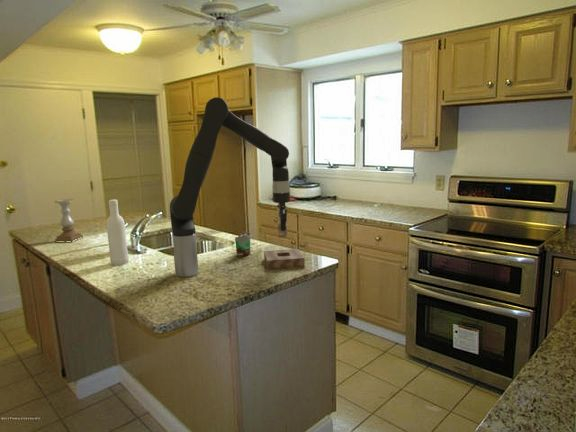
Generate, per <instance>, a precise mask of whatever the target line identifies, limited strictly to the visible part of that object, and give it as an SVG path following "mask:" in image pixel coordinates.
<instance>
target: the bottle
mask: <svg viewBox="0 0 576 432" xmlns="http://www.w3.org/2000/svg"><path fill="white" fill-rule="evenodd" d="M118 204H119V201H118V199H110V200H108V205H109V206H108V207H109V213H110V214H109V216H108V218H107V219H106V232H107V233H106V234H107V241H108V242H107V243H108V248H109V250H108V251H109V261H110V265H111V264H112V265H111V266H114V265H119V266H123V265H122V264H124V265H127V264H129V252H128V242H127V233H126V223H125V220H124V218H123V216H121V214H119V213H120V212H119V205H118ZM126 263H127V264H126Z"/></svg>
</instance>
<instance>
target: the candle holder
mask: <svg viewBox="0 0 576 432" xmlns="http://www.w3.org/2000/svg"><path fill="white" fill-rule="evenodd" d="M73 202H75V199H74V198H67V199H63V198H62V199H58V200H57V199H56V200H54V202H53V203H54V204H59V206H60V208H61V210H60V213H61V214H62V218H61V220H60V222H59V224H60V226H61V227H62V228H61V231H63V232H61V234H59V235H57V236H56V238H55V239H54V242H55V241H73V240H75V239H78V238H80V237H83V238H84V235H83V234H81V233H82V232H76V231H74V229H75V227H74V226H73V225H74V224H75V221H74V218H72V216H71V215H70V213H71V209H70V208H69V206H70V204H71V203H73Z"/></svg>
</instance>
